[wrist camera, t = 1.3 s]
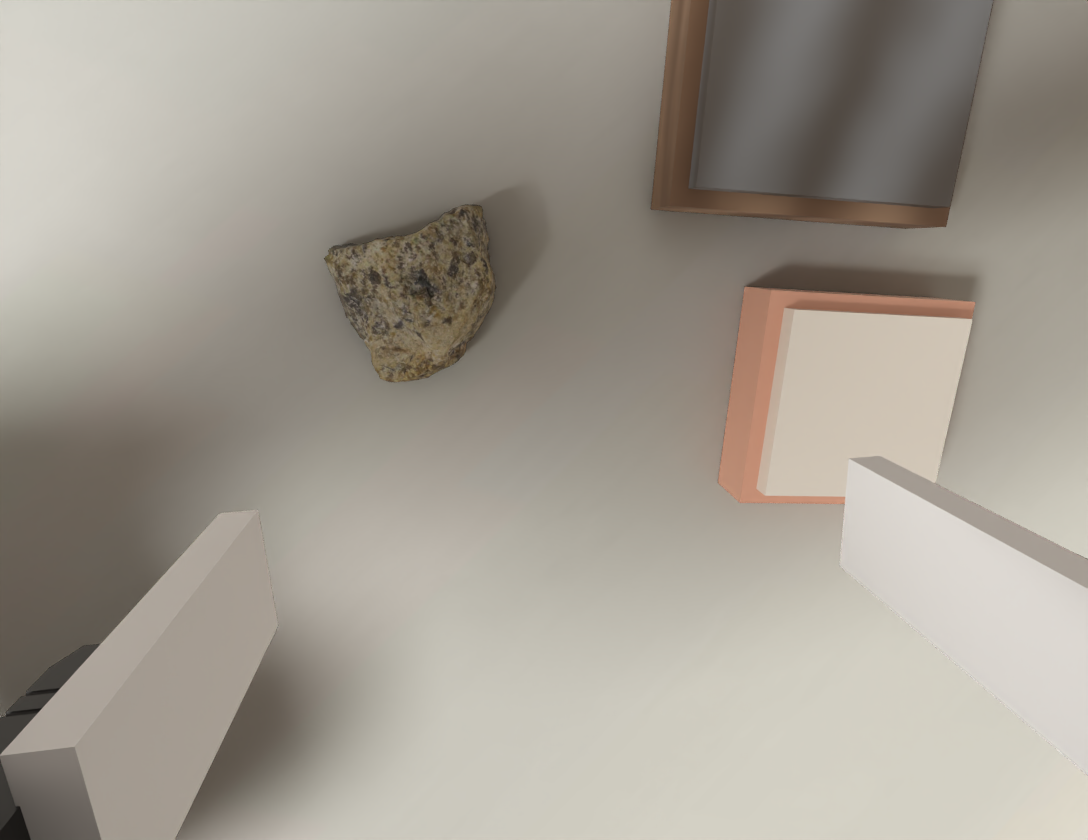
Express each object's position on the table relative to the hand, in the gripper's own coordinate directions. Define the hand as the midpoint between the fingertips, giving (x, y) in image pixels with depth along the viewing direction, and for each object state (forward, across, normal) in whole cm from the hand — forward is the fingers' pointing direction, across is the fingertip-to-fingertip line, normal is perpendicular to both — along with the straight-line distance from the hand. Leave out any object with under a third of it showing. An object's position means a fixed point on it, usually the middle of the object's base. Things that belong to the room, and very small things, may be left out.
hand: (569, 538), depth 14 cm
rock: (+20, -4, +5) cm, 21 cm away
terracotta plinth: (+20, +18, -2) cm, 27 cm away
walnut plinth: (+20, +15, +14) cm, 29 cm away
